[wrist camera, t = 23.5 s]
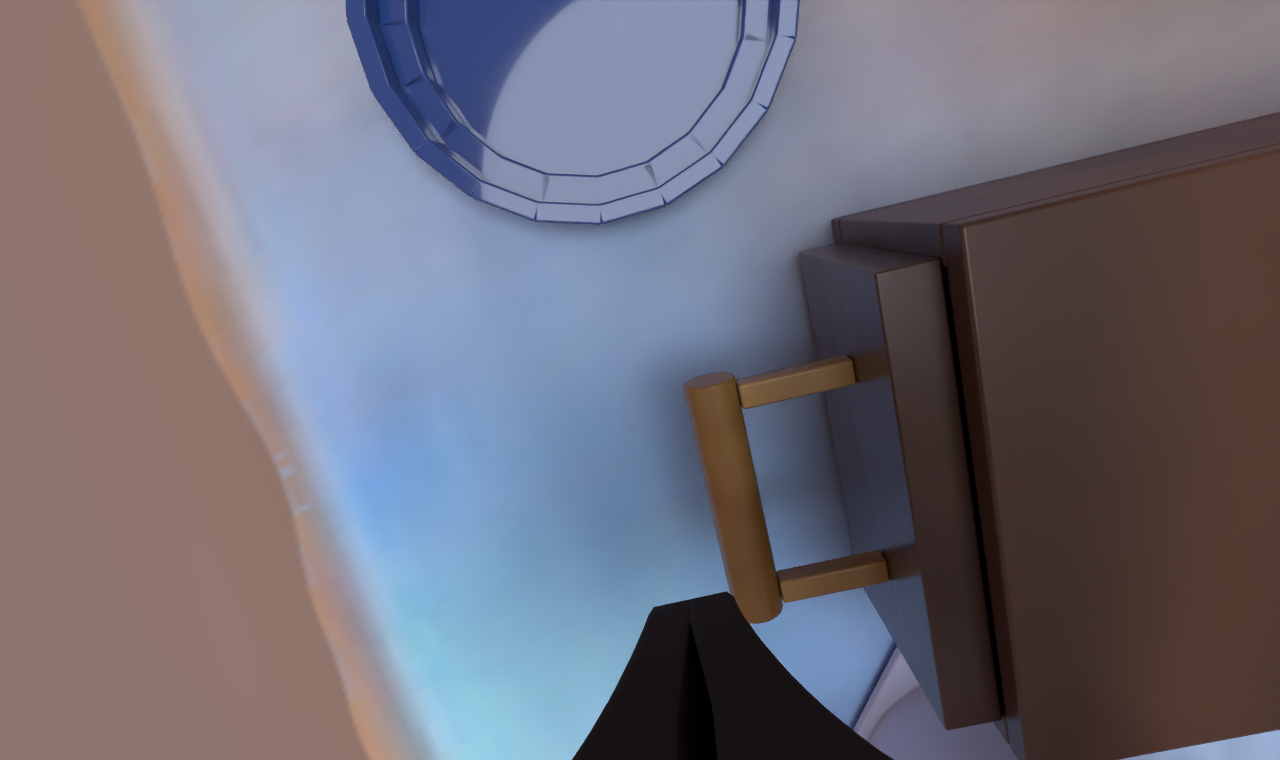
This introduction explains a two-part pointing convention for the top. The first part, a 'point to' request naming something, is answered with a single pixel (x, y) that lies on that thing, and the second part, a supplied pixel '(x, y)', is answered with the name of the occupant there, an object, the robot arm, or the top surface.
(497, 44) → the blue saucer
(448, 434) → the top surface
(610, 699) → the robot arm
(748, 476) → the drawer
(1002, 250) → the cabinet
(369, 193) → the top surface
